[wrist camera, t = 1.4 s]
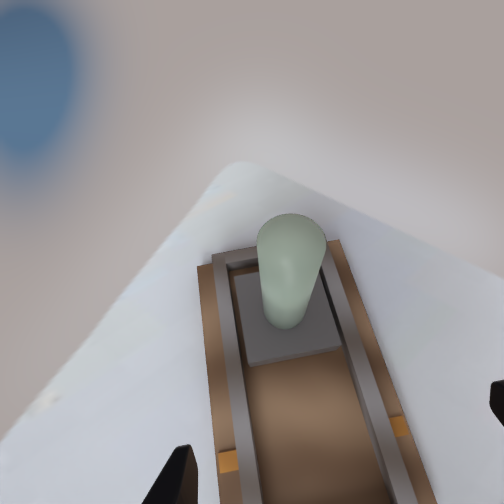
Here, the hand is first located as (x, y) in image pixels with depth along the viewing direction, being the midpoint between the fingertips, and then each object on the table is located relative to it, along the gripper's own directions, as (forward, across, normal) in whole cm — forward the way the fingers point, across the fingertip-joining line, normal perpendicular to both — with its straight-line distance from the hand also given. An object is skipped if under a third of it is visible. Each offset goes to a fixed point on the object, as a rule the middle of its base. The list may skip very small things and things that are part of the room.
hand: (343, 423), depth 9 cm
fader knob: (+13, 0, +4) cm, 13 cm away
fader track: (+11, 0, +7) cm, 13 cm away
